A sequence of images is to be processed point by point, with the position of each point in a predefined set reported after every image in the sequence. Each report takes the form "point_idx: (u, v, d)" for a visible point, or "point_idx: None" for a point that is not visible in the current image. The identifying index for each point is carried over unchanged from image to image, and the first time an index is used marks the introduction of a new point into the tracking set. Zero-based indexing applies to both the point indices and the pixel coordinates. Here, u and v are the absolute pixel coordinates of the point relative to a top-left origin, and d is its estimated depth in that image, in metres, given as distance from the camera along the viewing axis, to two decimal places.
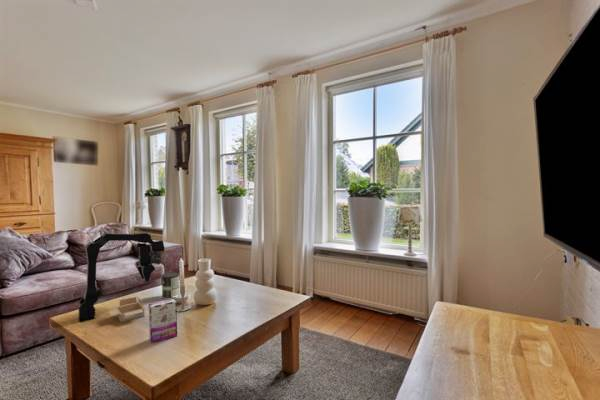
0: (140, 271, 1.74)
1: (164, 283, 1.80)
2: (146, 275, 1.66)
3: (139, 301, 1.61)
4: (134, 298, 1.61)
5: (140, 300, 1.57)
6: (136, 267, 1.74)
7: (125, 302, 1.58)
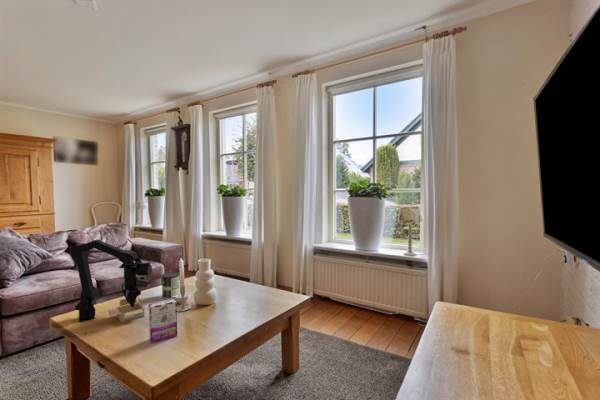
0: (125, 294, 1.57)
1: (164, 283, 1.80)
2: (131, 300, 1.50)
3: (139, 301, 1.61)
4: None
5: (140, 300, 1.57)
6: (121, 290, 1.58)
7: (125, 302, 1.58)
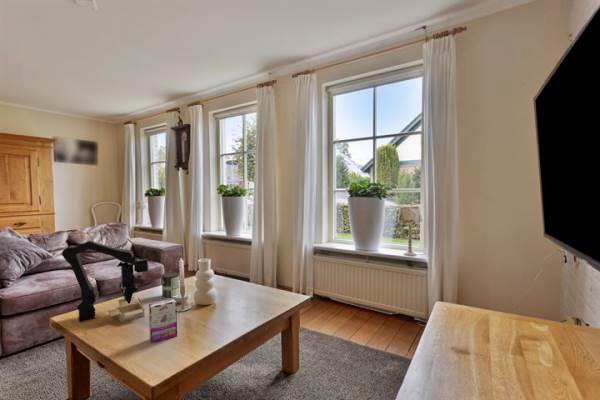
0: (124, 293, 1.60)
1: (164, 283, 1.80)
2: (127, 296, 1.56)
3: (139, 301, 1.61)
4: (133, 298, 1.63)
5: (140, 300, 1.57)
6: (120, 289, 1.61)
7: (124, 302, 1.60)
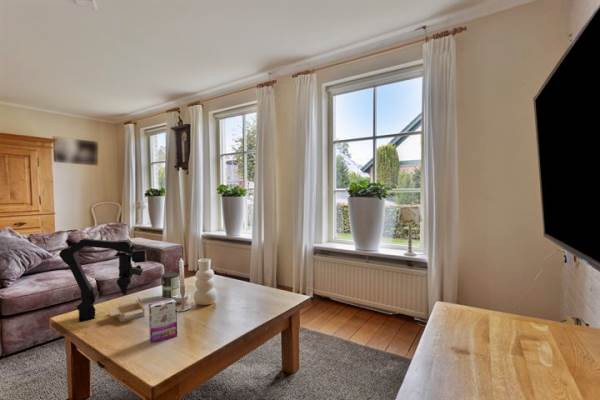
0: None
1: (164, 283, 1.80)
2: (122, 287, 1.53)
3: (139, 301, 1.61)
4: (132, 299, 1.64)
5: (140, 300, 1.57)
6: (120, 277, 1.64)
7: (124, 303, 1.60)
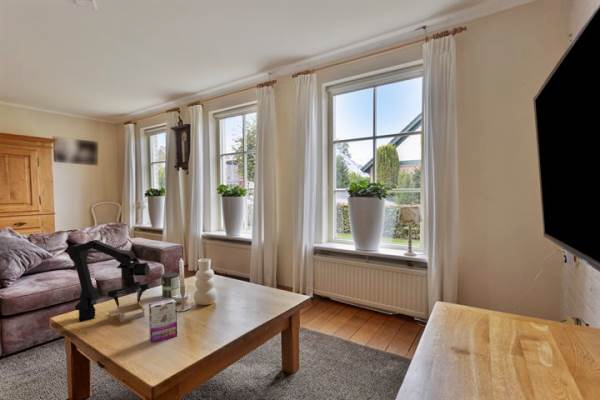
0: (137, 294, 1.58)
1: (164, 283, 1.80)
2: (114, 299, 1.51)
3: (139, 301, 1.61)
4: (132, 300, 1.64)
5: (140, 300, 1.57)
6: None
7: (124, 303, 1.60)
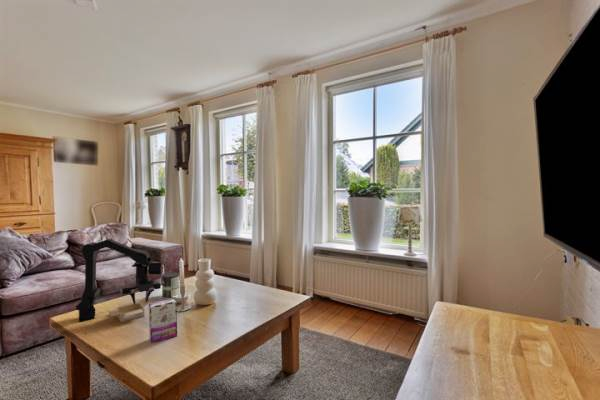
0: (146, 293, 1.61)
1: (164, 283, 1.80)
2: (131, 296, 1.56)
3: (142, 301, 1.62)
4: None
5: (147, 300, 1.60)
6: None
7: (124, 303, 1.60)
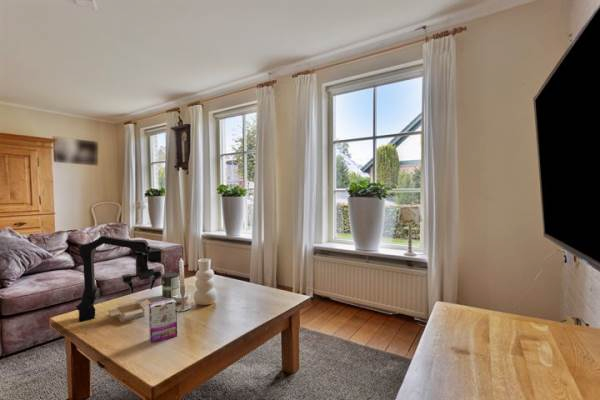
0: (150, 281, 1.65)
1: (164, 283, 1.80)
2: (129, 285, 1.57)
3: (143, 302, 1.62)
4: (132, 300, 1.64)
5: (148, 302, 1.60)
6: None
7: (124, 303, 1.60)
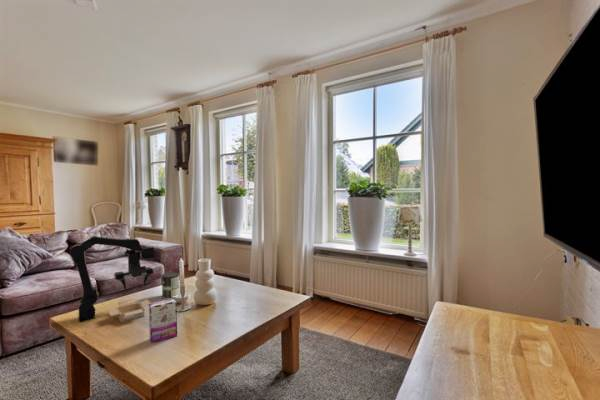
0: (143, 278, 1.69)
1: (164, 283, 1.80)
2: (122, 282, 1.61)
3: (143, 302, 1.62)
4: (132, 300, 1.64)
5: (148, 302, 1.60)
6: None
7: (124, 303, 1.60)
